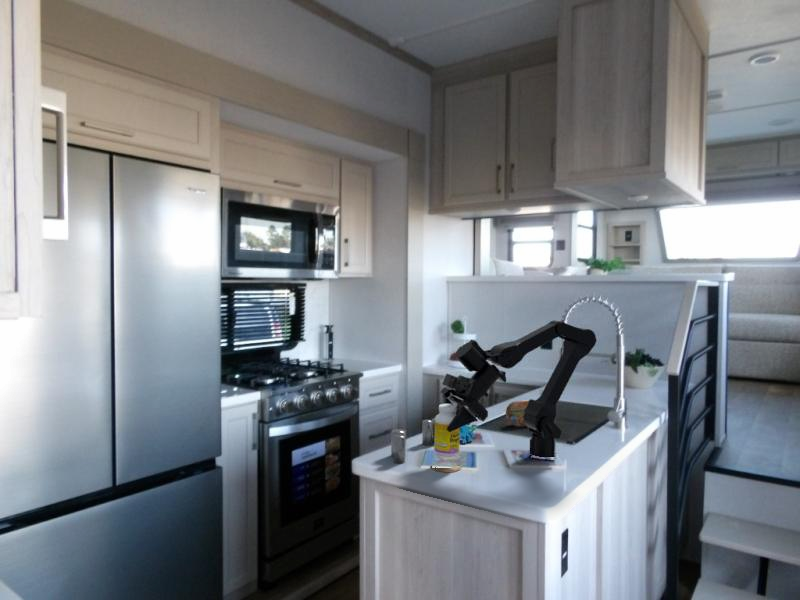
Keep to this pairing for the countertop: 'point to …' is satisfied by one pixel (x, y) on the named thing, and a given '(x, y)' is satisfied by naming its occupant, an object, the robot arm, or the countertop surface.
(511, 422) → the orange snack packet
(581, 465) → the countertop surface
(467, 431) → the gear
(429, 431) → the spacers
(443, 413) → the supplement bottle
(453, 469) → the cork coaster
